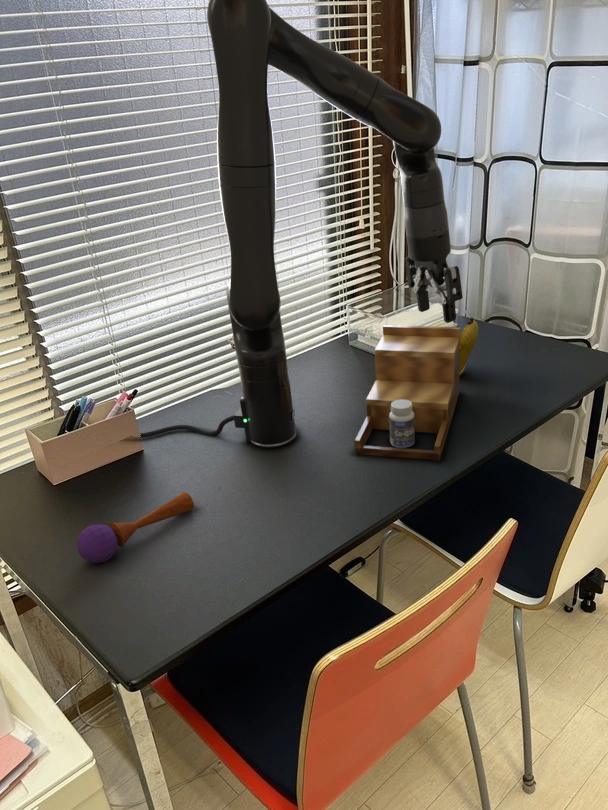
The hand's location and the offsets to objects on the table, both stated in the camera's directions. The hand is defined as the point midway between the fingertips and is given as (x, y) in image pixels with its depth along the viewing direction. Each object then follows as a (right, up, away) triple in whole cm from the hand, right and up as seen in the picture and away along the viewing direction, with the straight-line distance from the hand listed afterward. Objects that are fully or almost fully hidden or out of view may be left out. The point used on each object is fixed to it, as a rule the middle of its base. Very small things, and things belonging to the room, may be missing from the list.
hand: (437, 315), depth 133 cm
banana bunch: (+7, -8, +27) cm, 29 cm away
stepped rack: (-4, -19, +9) cm, 22 cm away
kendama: (-51, -40, -18) cm, 67 cm away
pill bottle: (-6, -24, +3) cm, 25 cm away
